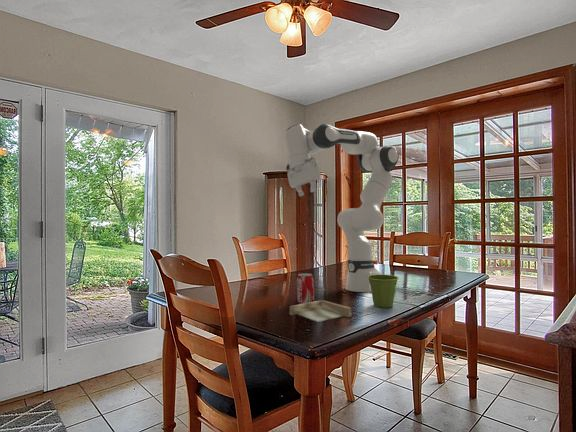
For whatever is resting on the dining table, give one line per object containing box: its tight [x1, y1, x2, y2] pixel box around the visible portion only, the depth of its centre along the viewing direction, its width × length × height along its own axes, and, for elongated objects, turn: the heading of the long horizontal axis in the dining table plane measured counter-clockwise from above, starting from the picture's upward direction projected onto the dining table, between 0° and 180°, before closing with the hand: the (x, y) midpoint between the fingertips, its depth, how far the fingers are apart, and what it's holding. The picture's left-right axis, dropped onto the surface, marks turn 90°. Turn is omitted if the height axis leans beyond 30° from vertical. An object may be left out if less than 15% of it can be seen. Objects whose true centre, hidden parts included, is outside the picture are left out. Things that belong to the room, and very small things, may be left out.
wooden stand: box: [289, 299, 352, 323], centre depth 126 cm, size 16×16×3 cm
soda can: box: [296, 272, 315, 304], centre depth 142 cm, size 7×7×12 cm
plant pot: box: [367, 273, 399, 309], centre depth 138 cm, size 12×12×11 cm
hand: (307, 194), depth 151 cm, fingers open, 8 cm apart
